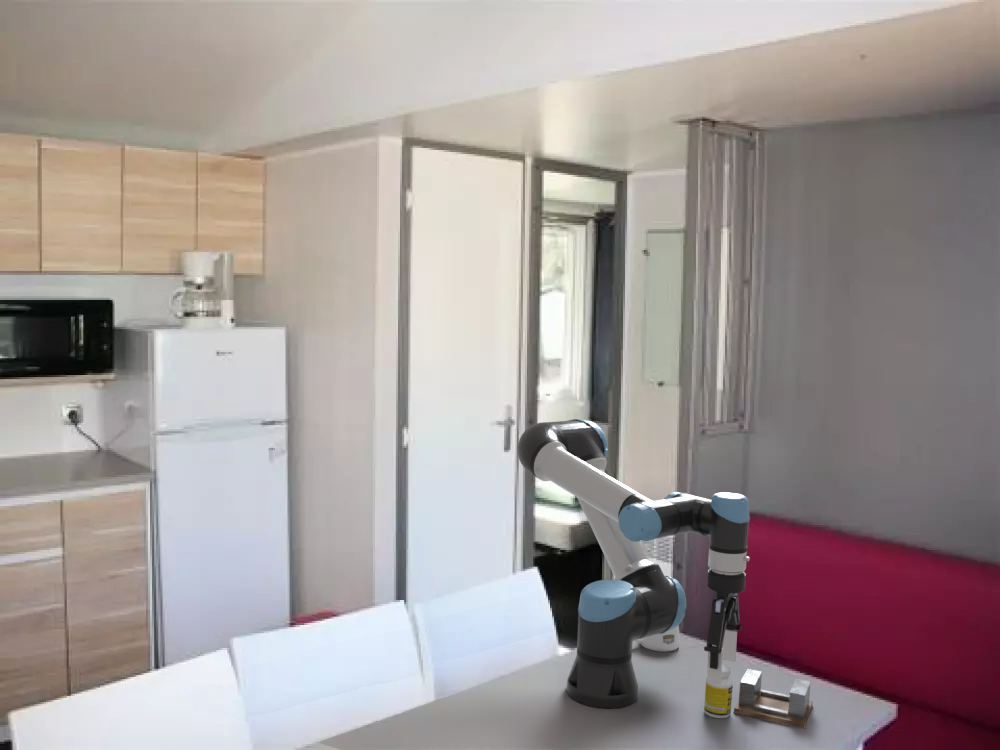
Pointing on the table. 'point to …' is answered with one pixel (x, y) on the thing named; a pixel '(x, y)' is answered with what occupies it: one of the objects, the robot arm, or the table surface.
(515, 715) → the table surface
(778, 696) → the grey rectangular frame
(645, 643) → the mug
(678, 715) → the table surface
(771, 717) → the mount board
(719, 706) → the supplement bottle
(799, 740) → the table surface
